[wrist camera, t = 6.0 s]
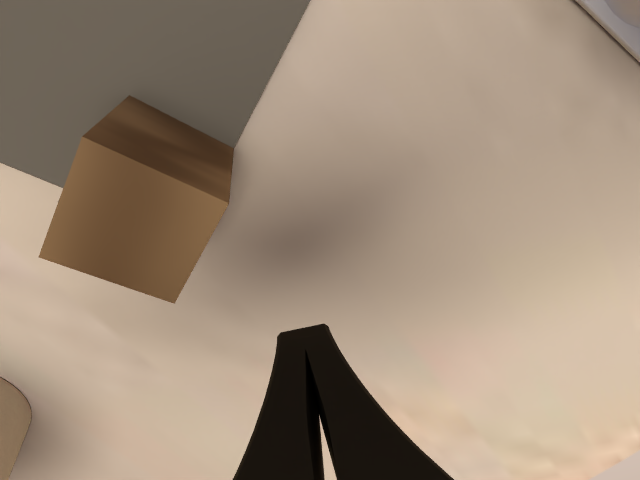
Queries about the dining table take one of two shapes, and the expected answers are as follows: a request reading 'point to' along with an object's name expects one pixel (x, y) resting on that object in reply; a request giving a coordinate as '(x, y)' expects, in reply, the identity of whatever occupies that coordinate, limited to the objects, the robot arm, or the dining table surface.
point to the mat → (131, 68)
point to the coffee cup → (11, 425)
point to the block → (140, 200)
